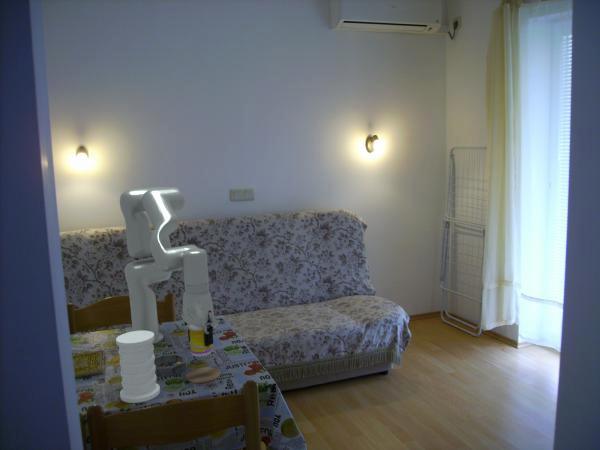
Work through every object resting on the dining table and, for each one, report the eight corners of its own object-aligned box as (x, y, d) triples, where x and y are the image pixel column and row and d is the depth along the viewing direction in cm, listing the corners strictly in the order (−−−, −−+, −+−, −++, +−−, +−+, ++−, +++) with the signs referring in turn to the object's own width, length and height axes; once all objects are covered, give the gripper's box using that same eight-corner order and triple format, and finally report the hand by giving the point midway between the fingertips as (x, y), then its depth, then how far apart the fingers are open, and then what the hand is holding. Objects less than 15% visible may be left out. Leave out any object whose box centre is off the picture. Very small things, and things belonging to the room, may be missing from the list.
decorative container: (126, 386, 167) (120, 331, 165) (163, 384, 168) (159, 329, 165) (115, 404, 156) (109, 344, 153) (155, 401, 156) (150, 342, 154)
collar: (141, 370, 179) (140, 361, 179) (170, 358, 189) (170, 349, 188) (165, 379, 172) (164, 369, 171) (194, 365, 181) (194, 356, 181)
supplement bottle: (207, 357, 168) (204, 318, 166) (187, 357, 169) (184, 317, 167) (215, 349, 174) (212, 311, 172) (196, 349, 176) (193, 311, 174)
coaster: (178, 378, 172) (178, 376, 172) (204, 366, 180) (204, 364, 180) (202, 386, 165) (202, 384, 165) (227, 373, 174) (227, 371, 174)
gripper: (169, 287, 171) (174, 341, 173) (207, 294, 161) (211, 351, 163) (187, 282, 177) (191, 334, 179) (225, 288, 166) (228, 344, 169)
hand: (201, 342), depth 171 cm, fingers closed on supplement bottle, 6 cm apart
